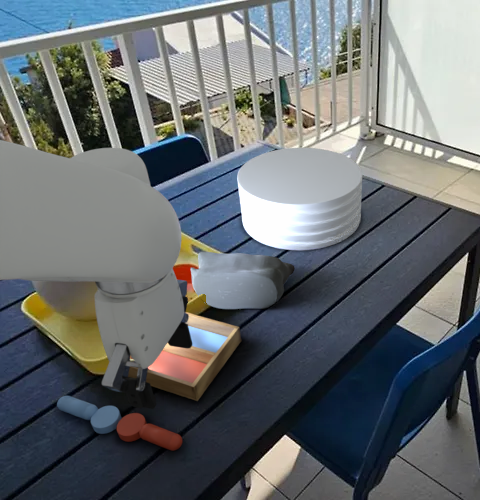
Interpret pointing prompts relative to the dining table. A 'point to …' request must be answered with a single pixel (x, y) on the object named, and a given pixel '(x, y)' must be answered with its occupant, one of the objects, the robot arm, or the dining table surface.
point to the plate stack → (300, 198)
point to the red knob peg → (147, 432)
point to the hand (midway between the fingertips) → (163, 373)
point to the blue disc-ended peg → (91, 413)
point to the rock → (240, 279)
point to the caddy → (193, 358)
